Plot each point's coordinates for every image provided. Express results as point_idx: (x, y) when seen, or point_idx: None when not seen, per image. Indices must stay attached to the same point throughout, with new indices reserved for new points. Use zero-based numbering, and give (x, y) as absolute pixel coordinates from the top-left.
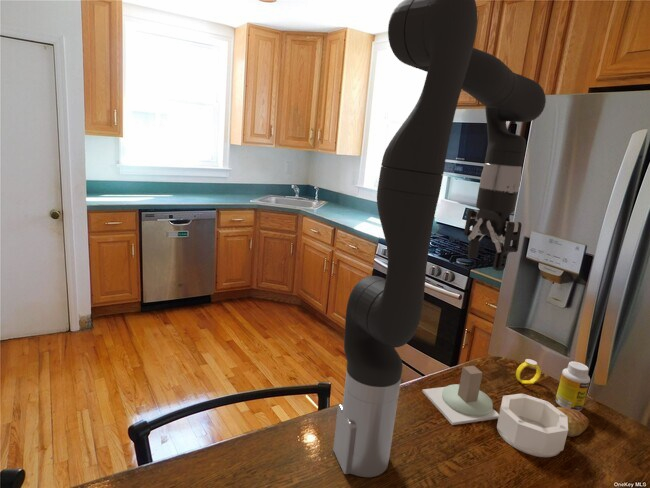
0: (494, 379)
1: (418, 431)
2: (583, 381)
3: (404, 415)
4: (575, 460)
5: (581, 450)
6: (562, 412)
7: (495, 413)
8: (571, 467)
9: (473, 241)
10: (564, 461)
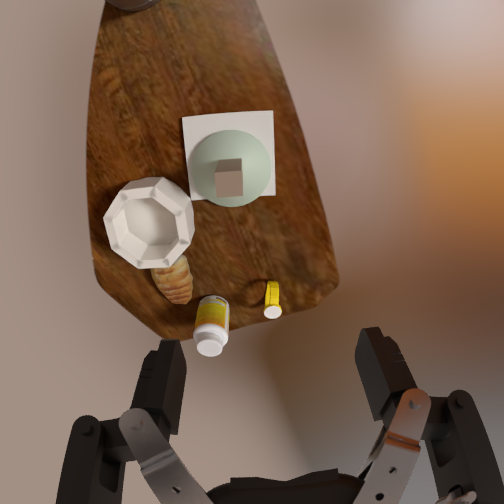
0: (286, 250)
1: (176, 62)
2: (193, 334)
3: (214, 54)
4: None
5: None
6: (169, 277)
7: (197, 195)
8: None
9: (391, 400)
10: None
